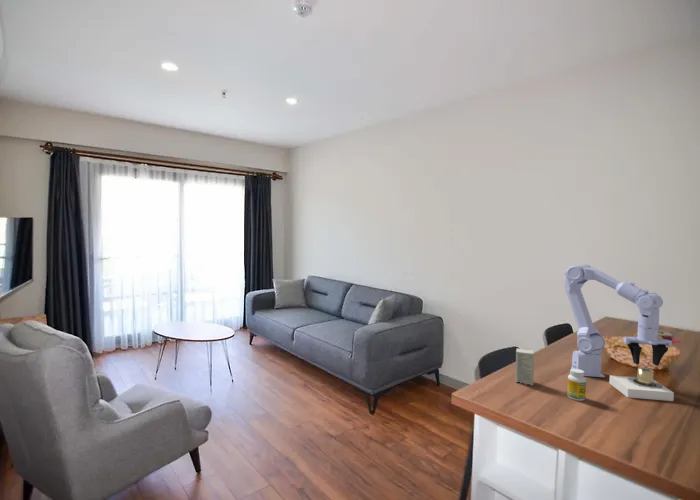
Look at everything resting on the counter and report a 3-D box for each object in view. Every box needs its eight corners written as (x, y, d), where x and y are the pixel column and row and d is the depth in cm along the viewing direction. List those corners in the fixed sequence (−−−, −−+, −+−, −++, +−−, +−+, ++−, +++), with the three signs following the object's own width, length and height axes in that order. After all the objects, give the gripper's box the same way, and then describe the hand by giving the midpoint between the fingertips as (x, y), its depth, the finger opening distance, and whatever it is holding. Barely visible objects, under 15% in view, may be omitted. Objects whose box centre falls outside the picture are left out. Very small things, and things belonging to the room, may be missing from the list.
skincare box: (533, 381, 139) (534, 350, 138) (533, 386, 135) (535, 353, 134) (515, 378, 141) (516, 347, 141) (514, 382, 137) (516, 351, 136)
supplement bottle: (571, 392, 129) (572, 366, 129) (588, 398, 125) (589, 371, 124) (563, 396, 126) (565, 369, 126) (580, 402, 122) (581, 374, 121)
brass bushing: (641, 393, 130) (642, 371, 129) (633, 387, 134) (635, 366, 134) (654, 394, 129) (656, 372, 129) (647, 389, 133) (648, 367, 133)
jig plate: (627, 397, 126) (628, 388, 126) (609, 383, 138) (609, 375, 138) (673, 401, 124) (673, 392, 124) (650, 386, 136) (651, 378, 136)
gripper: (631, 328, 128) (629, 366, 128) (679, 331, 125) (676, 369, 126) (620, 323, 135) (618, 359, 135) (665, 326, 132) (662, 362, 133)
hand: (645, 364), depth 131 cm, fingers open, 6 cm apart
